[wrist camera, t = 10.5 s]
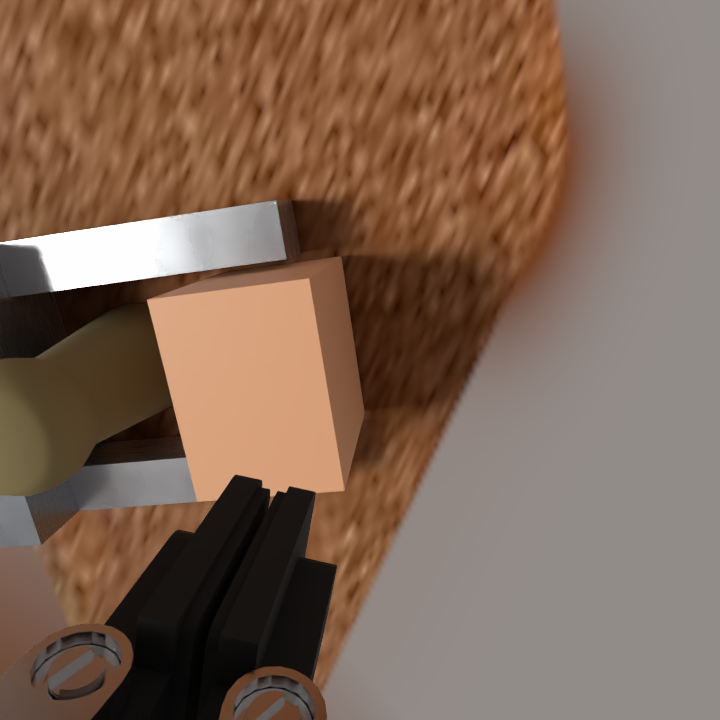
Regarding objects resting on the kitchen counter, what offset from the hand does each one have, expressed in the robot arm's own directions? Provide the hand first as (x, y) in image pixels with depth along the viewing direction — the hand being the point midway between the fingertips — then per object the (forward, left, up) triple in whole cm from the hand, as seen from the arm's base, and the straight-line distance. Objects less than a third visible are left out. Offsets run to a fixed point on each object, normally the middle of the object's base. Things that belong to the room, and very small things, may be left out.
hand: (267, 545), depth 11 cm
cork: (0, -12, -18) cm, 21 cm away
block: (0, -3, -17) cm, 18 cm away
